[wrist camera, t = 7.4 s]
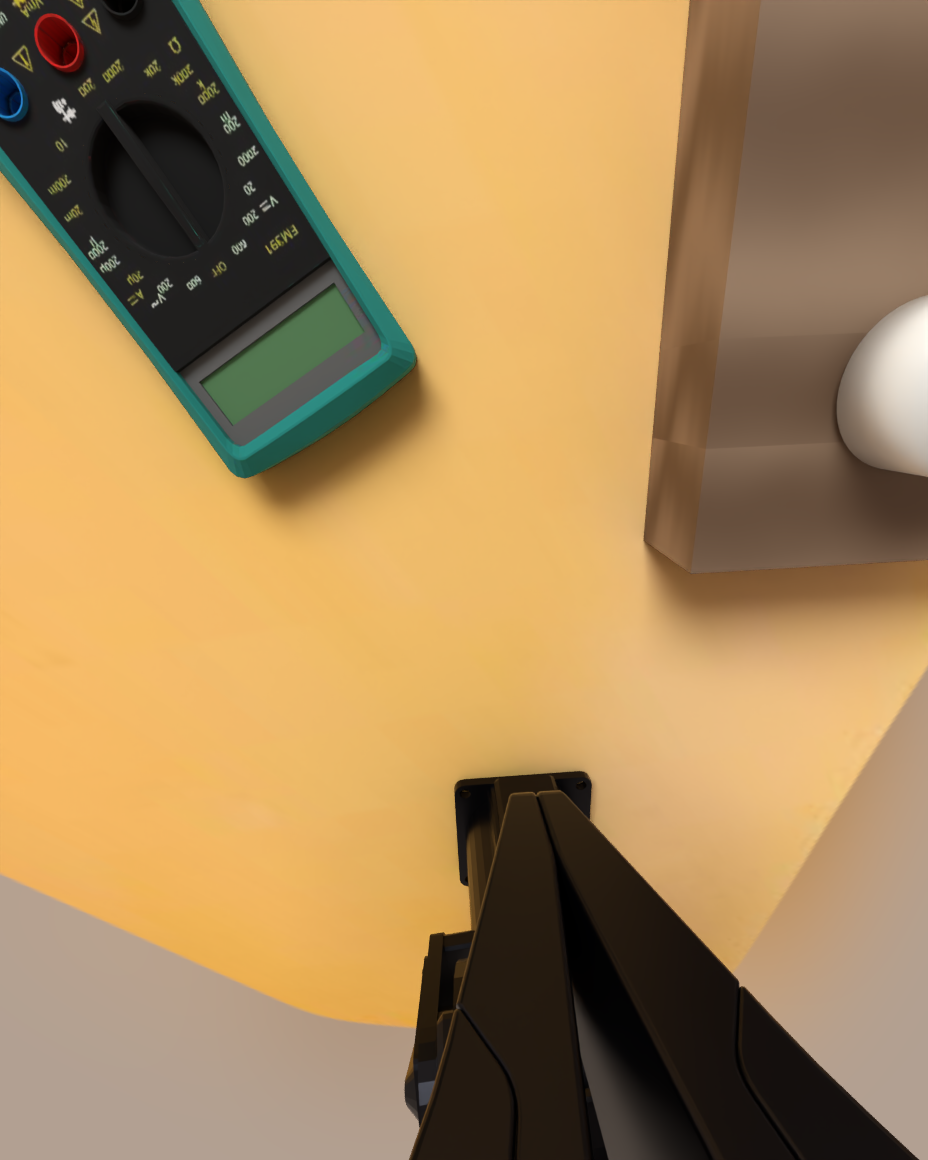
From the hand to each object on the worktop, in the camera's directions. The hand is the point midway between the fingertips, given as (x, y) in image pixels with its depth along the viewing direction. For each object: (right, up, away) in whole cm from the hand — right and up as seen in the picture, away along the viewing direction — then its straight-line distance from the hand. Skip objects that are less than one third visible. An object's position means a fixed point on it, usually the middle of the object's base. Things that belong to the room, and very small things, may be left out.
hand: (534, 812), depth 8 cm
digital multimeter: (-9, +15, +8) cm, 20 cm away
